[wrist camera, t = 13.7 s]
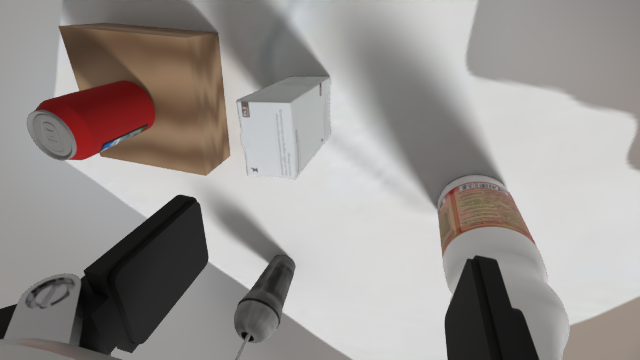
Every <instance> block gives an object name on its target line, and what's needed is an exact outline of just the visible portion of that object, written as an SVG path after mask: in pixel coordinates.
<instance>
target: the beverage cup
mask: <svg viewBox="0 0 640 360" xmlns="http://www.w3.org/2000/svg"><path fill="white" fill-rule="evenodd" d="M294 270H295V263H294V261H293V260H292V259H291V258H289V257H288V256H285V255H277V256H275V257H274V259H273V260H272V261H271V262H270V263H269V265H268V266H267V268H266V269H265V270H264V272H263V273H262V275H261V276H260V277H259V279H258V280H257V282H256V283H255V285H254V286H253V287H252V289H251V290H250V292H249V293H248V294H247V295H246V296H245V297H244V298H243V299H242V300H241V301H240V302H239V304H238V307H237V310H236V312H235V316H234V324H235V329H236V331H237V333H238V335H239V336H240V337H241V338H242V339H243V340H244V343H243V344H242V347H241V349H240V351H239V353H238V355H237V357H236V359H235V360H239V359H240V357H241V355H242V353H243V351H244V348H245V347H246V344H247V342H251V343H258V342H262V341H264V340H266V339H267V338H269V337H270V336H271V335H272V334H273V333H274V332H275V330H276V329H277V327H278V326H279V324H280V319H281V315H282V308H283V305H284V302H285V299H286V296H287V293H288V290H289V287H290V284H291V281H292V278H293V275H294Z"/></svg>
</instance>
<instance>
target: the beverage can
mask: <svg viewBox="0 0 640 360" xmlns="http://www.w3.org/2000/svg"><path fill="white" fill-rule="evenodd" d="M154 121H155V109H154V105H153V103H152V101H151V99H150V97H149V96H148V94H147V93H146V92H145V91H144V90H143V89H142V88H141V87H140V86H138V85H137V84H135V83H133V82H130V81H126V80H122V81H117V82H113V83H109V84H105V85H101V86H97V87H93V88H89V89H86V90H82V91H78V92H74V93H71V94H67V95H63V96H60V97H56V98H52V99H49V100H45V101H43V102H42V103H41V104H40V105H39V106H38V107H37V109H36V110H35V111H34V112H32V113H30V114H29V116H28V118H27V127H28V131H29V133H30V135H31V137H32V139H33V141H34V142H35V143H36V145H37V146H38V147H39V148H40V149H41V150H42V151H43V152H44V153H46V154H47V155H49V156H50V157H52V158H54V159H57V160H62V161H64V160H84V159H87V158H89V157H91V156H93V155H95V154H97V153H100V152H102V151H104V150H106V149H108V148H110V147H112V146H115V145H117V144H119V143H121V142H123V141H125V140H127V139H129V138H131V137H133V136H135V135H137V134H139V133H141V132H144V131H146V130H148V129H149V128H150V127H151V126H152V125H153V123H154Z"/></svg>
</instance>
